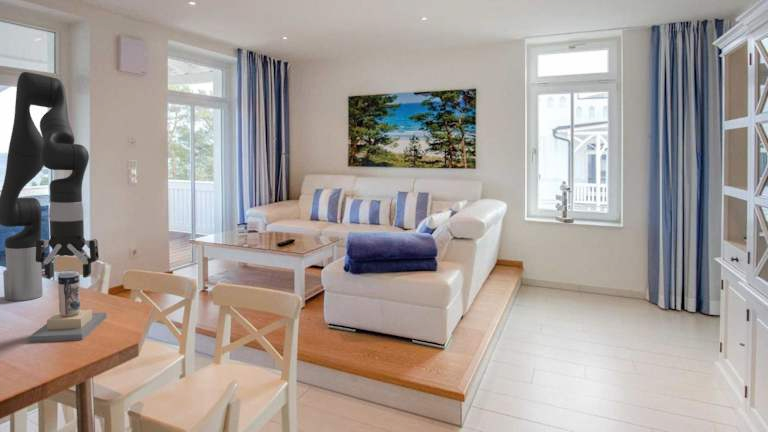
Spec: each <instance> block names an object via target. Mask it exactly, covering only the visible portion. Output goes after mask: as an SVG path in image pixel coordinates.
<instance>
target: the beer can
mask: <svg viewBox="0 0 768 432" xmlns="http://www.w3.org/2000/svg"><path fill="white" fill-rule="evenodd" d="M57 280H58V281H57V282H58V283H57V284H58V302H59V303H58V306H59V307H58V308H59V311H60V315H62V316H64V317H70V316H75V315H77V314H79V313H80V312H81V310H82V309H81V290H80V289H81V288H80V287H81V286H80V273H79V272H78V270H73V269H71V270H70V269H69V270H64V271H60V272H59V274H58V275H57Z"/></svg>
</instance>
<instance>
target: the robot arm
mask: <svg viewBox="0 0 768 432" xmlns="http://www.w3.org/2000/svg"><path fill="white" fill-rule="evenodd" d="M67 103H68V102H67V96H66V89H65V85H64V84H63V82H62V81H61V80H60V79H59V78H56V77H53V76H48V75H45V74H39V73H34V72H29V71H23V72H21V73H20V74H19V75H18V79H17V83H16V91H15V106H14V118H13V125H12V130H11V136H10V142H9V144H8V145H9V146H8V151H7V158H6V166H5V167H6V169H5V174H4V181H3V185H2V188H1V191H0V226H2V227H6V228H10V227H11V228H12V227H13V228H14V227H23V228H22V230H20V232H17V233H16V234H14V235H12V236H8V237H7V238H5V241H4V248H5V265H6V266H5V270H3V271H2V274H3V275H2V276H3V291H4V292H3V295H4V300H5V299H7V300H6V301H13V302H14V301H15V302H16V301H17V302H18V301H29V300H34V299H37V298H40V297H42V296H43V290H44V289H43V274H42V273H43V272H42V271H43V269H42V264H43V266H44V275H45V277H47V279H52V278H53V277H54V276H55V270H54V266H55V265H54V264H55V263H54V260H56V257H58V256H59V257H63V256H65V257H66V256H68V257H72V256H73V257H74V256H75V257H76V258H77V259H79V260H80V261H81V262H82V263H83V264H82V277H83V279H84V278H88V277H89V276H91V274H92V263H94V262H96V261H98V260H99V259H100V255H99V246H98V245H99V244H98V243H99V242H98V240H97V239H96V238H93V239H88V240H87V239H85V236H84V234H85V231H84V228H85V226H84V207H83V194H82V193H83V191H82V190H83V189H82V188H83V181H84V176H85V172H86V171H87V168H88V164H89V160H90V156H89V155H90V154H89V151H88V149H87V148H86V147H85V146H84V145H82V144H80V143H79V144H77V143H75V135H74V133H73V130H72V128H71V125H70V121H69V115H68V114H69V113H68V111H69V110H68V104H67ZM31 106H36V107H41V108H42V107H43V108H47V109H48V108H49V110H48V111H47V112H46V113H44V114H43V116H42V117H41V118H40V121H39V130H40V131H39V130H38V128H37V126H36V124H35V123H34V122H35V121H33V117H32V114H31V110H30V109H31ZM44 167H45V168H46V169H48V170H53V171H71V172H70V174H69V176H67V177H61V178H56V179H53V180H51V181H50V183H49V210H48V213H49V214H48V218H49V235H50V238H49V239H45V238H42V216H43V215H42V206H41V203H40V200H38V199H37V198H36V197H20V194H21V192H22V191H23V189H24V187H26V186H27V184H29V183H30V182H31V181H32V180H33V179H34V178H36V176H38V175H39V173H40V172H41V171H42V169H43V168H44ZM85 245H86V247H87V248H88V249H89V255H88V254H87V252H86V250H85V249H84V247H85ZM48 246H49V247H50V248H51V249H52V250H51V251H50V252H49V254H48V255H47V257H46V248H48Z"/></svg>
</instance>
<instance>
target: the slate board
mask: <svg viewBox="0 0 768 432" xmlns="http://www.w3.org/2000/svg"><path fill="white" fill-rule="evenodd" d="M80 310H81V312H80V313H79V314H77V315H75V316H70V317H64V316H62V315H60V310H59V311H58V312H56V313H55V314H54V315H52V316H50V317H49V318H48V319H46V324H44V325H43V326H41V327H40V328H39V329H37V330H35V332H33V333H32V334H30V335H29V336H28V342H29V343H37V342H38V343H40V342H41V343H42V342H43V343H44V342H60V341H61V342H62V341H78V340H79V341H83V340H84V339H85V338H86V337H87V336H88V335H89V334H90V333H91V332H93V331H94V330H95V329H96V328H97V327H98V326H99V325H100V324H101V323H102V322H103V321H104V320H105V319H107V312H93V309H80Z"/></svg>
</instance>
